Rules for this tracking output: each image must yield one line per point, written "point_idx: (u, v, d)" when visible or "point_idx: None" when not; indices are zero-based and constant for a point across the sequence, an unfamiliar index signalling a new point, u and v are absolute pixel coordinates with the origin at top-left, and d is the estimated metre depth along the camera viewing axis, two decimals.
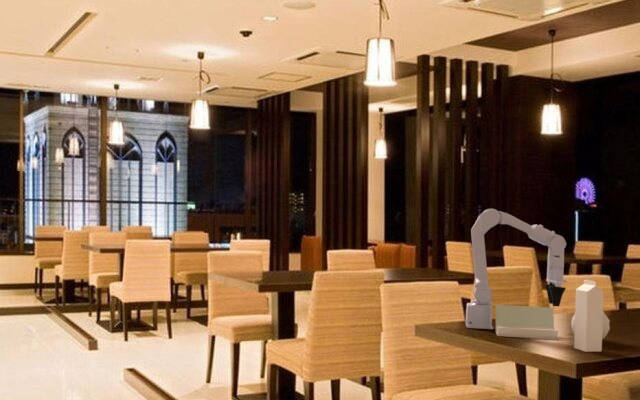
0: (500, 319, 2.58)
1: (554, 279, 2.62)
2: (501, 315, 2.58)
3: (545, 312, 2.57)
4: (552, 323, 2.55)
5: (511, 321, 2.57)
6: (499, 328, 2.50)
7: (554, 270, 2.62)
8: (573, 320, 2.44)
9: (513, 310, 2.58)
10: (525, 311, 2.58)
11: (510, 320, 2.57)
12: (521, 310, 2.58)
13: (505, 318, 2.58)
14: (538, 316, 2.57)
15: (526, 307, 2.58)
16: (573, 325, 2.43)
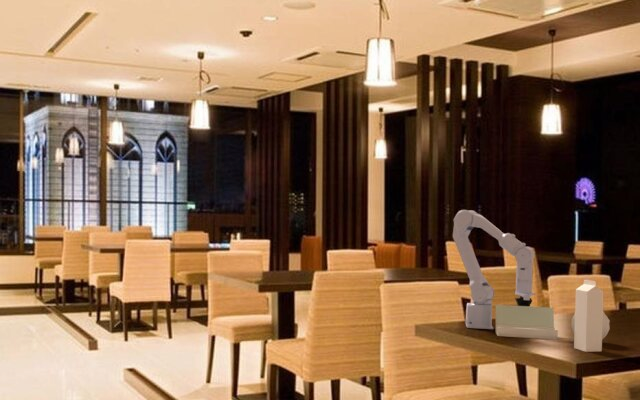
0: (500, 319, 2.58)
1: (522, 292, 2.58)
2: (501, 315, 2.58)
3: (545, 312, 2.57)
4: (552, 323, 2.55)
5: (511, 321, 2.57)
6: (499, 328, 2.50)
7: (523, 283, 2.58)
8: (573, 320, 2.44)
9: (513, 310, 2.58)
10: (525, 311, 2.58)
11: (510, 320, 2.57)
12: (521, 310, 2.58)
13: (505, 318, 2.58)
14: (538, 316, 2.57)
15: (526, 307, 2.58)
16: (573, 325, 2.43)
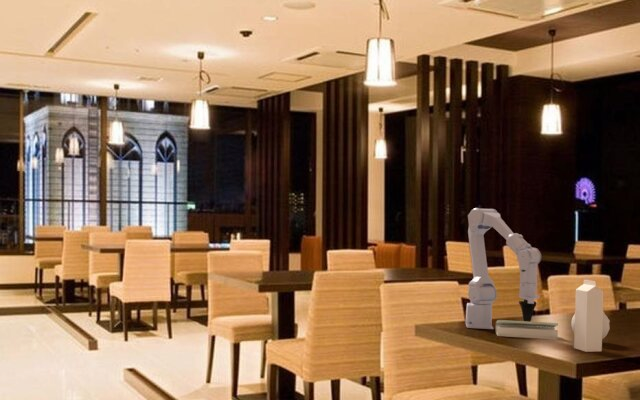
0: (501, 323, 2.55)
1: (527, 295, 2.49)
2: (502, 323, 2.54)
3: (548, 325, 2.50)
4: (553, 326, 2.53)
5: (512, 324, 2.55)
6: (499, 328, 2.50)
7: (527, 286, 2.49)
8: (573, 320, 2.44)
9: (515, 323, 2.51)
10: (528, 324, 2.51)
11: (511, 324, 2.55)
12: (524, 323, 2.51)
13: (506, 323, 2.55)
14: (540, 325, 2.52)
15: (529, 323, 2.49)
16: (573, 325, 2.43)
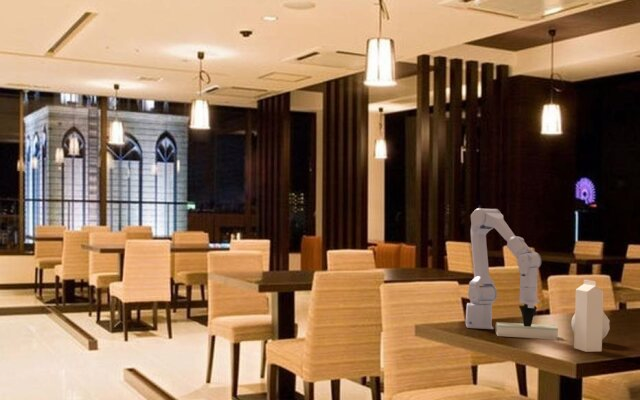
0: None
1: (527, 300, 2.48)
2: None
3: None
4: None
5: None
6: (499, 328, 2.50)
7: (527, 290, 2.48)
8: (573, 320, 2.44)
9: None
10: None
11: None
12: None
13: None
14: None
15: (529, 328, 2.49)
16: (573, 325, 2.43)
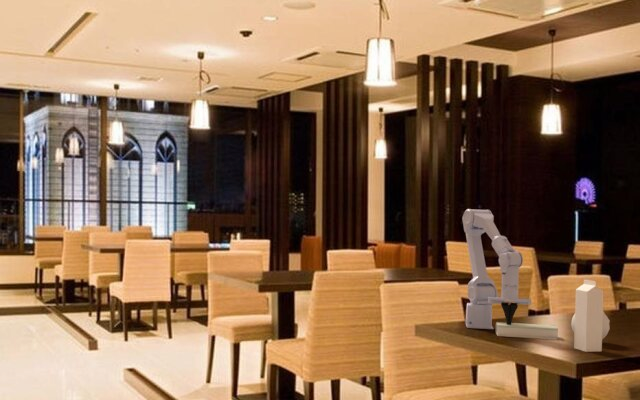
0: None
1: None
2: None
3: None
4: None
5: None
6: (499, 328, 2.50)
7: (501, 287, 2.55)
8: (573, 320, 2.44)
9: None
10: None
11: None
12: None
13: None
14: None
15: (529, 328, 2.49)
16: (573, 325, 2.43)
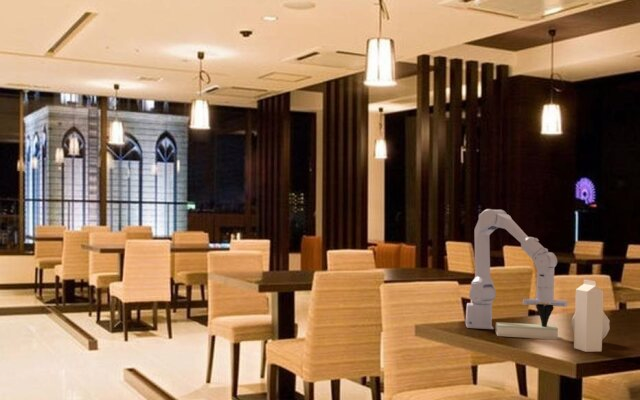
0: None
1: (536, 298, 2.53)
2: None
3: None
4: None
5: None
6: (499, 328, 2.50)
7: None
8: (573, 320, 2.44)
9: None
10: None
11: None
12: None
13: None
14: None
15: (529, 328, 2.49)
16: (573, 325, 2.43)
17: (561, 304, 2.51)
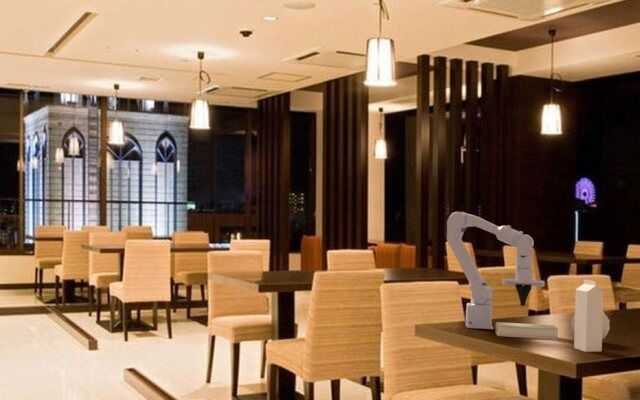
0: None
1: None
2: None
3: None
4: None
5: None
6: (499, 328, 2.50)
7: None
8: (573, 320, 2.44)
9: None
10: None
11: None
12: None
13: None
14: None
15: (529, 328, 2.49)
16: (573, 325, 2.43)
17: (539, 284, 2.62)
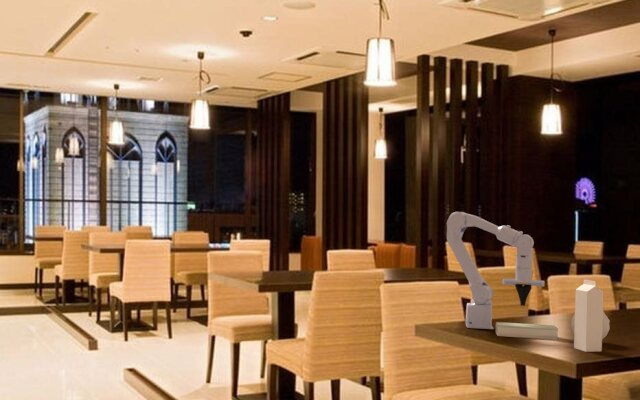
0: None
1: None
2: None
3: None
4: None
5: None
6: (499, 328, 2.50)
7: None
8: (573, 320, 2.44)
9: None
10: None
11: None
12: None
13: None
14: None
15: (529, 328, 2.49)
16: (573, 325, 2.43)
17: (539, 284, 2.62)
